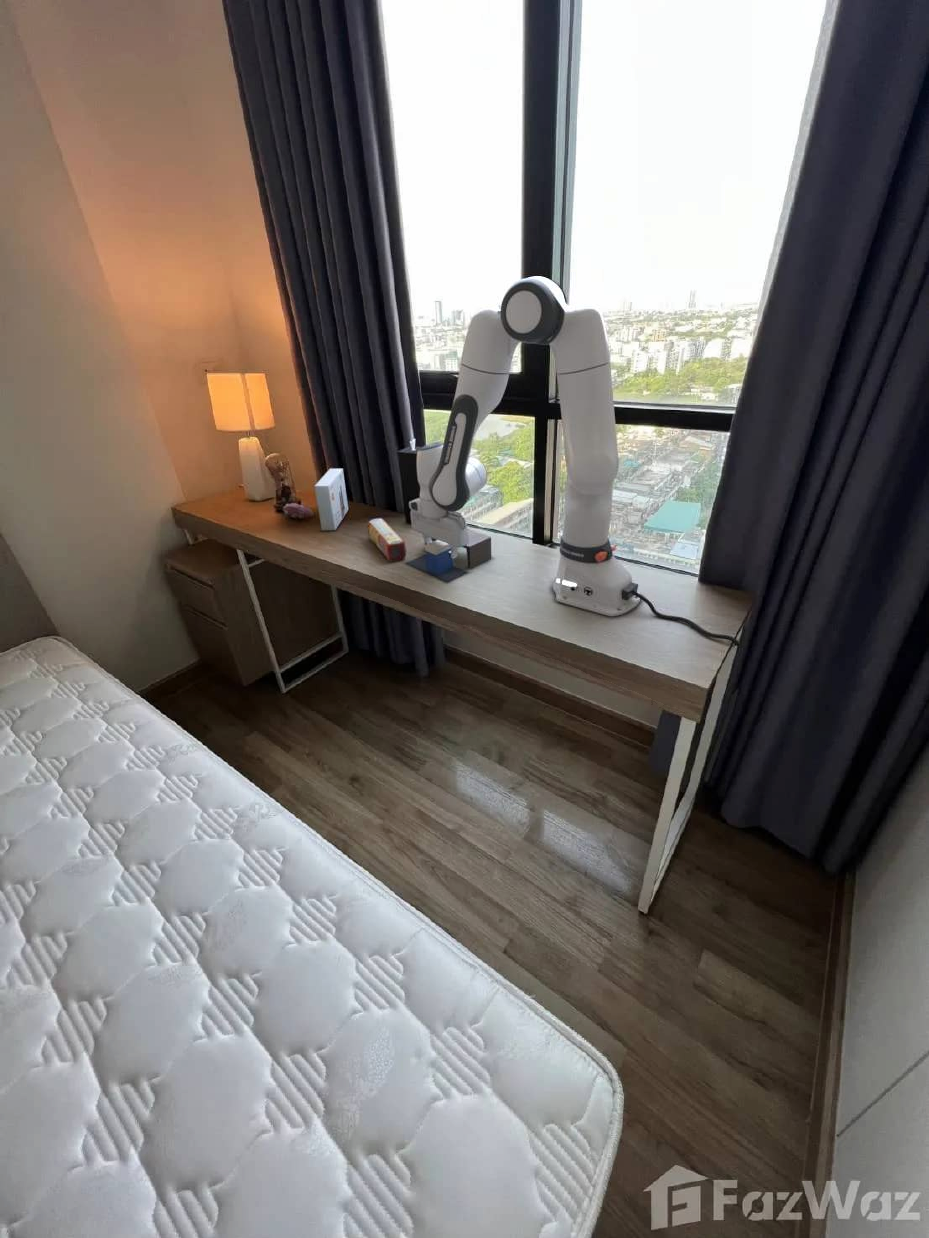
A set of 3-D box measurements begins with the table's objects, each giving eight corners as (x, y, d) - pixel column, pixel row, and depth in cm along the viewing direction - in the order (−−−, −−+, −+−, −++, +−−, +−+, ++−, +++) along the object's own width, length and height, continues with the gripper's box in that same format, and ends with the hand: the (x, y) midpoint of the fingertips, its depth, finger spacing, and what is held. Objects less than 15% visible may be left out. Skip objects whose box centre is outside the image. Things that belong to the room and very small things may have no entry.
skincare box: (337, 530, 172) (328, 485, 163) (321, 531, 172) (312, 486, 164) (350, 509, 190) (343, 467, 181) (336, 509, 190) (328, 468, 181)
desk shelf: (491, 558, 148) (491, 536, 144) (470, 569, 143) (469, 546, 139) (446, 541, 161) (444, 520, 157) (425, 550, 155) (423, 529, 152)
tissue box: (405, 523, 175) (395, 441, 160) (417, 515, 181) (409, 435, 166) (424, 526, 172) (416, 443, 157) (435, 518, 178) (429, 437, 162)
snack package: (408, 559, 151) (406, 538, 147) (388, 564, 148) (385, 543, 145) (386, 535, 167) (384, 515, 163) (367, 539, 165) (364, 519, 161)
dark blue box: (454, 567, 144) (452, 542, 139) (437, 575, 140) (435, 549, 136) (443, 563, 146) (441, 538, 142) (426, 570, 143) (424, 545, 138)
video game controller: (287, 521, 186) (278, 508, 180) (292, 512, 188) (283, 498, 182) (310, 523, 183) (302, 510, 177) (315, 513, 185) (307, 500, 179)
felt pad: (467, 572, 141) (467, 571, 141) (447, 582, 137) (447, 581, 137) (426, 554, 152) (426, 554, 152) (406, 563, 148) (406, 562, 148)
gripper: (472, 510, 128) (475, 559, 136) (422, 495, 141) (427, 540, 149) (455, 517, 125) (458, 567, 132) (404, 501, 138) (410, 547, 145)
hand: (441, 552), depth 140 cm, fingers open, 8 cm apart
